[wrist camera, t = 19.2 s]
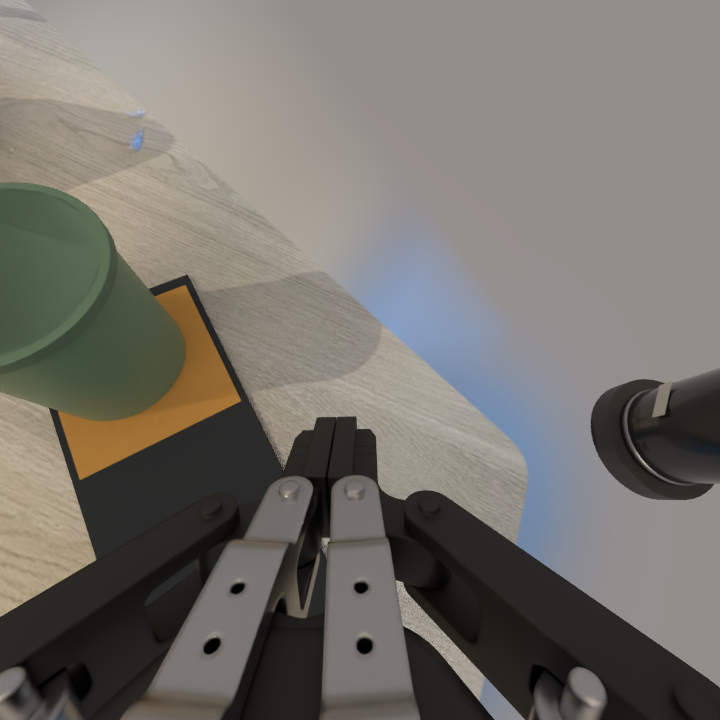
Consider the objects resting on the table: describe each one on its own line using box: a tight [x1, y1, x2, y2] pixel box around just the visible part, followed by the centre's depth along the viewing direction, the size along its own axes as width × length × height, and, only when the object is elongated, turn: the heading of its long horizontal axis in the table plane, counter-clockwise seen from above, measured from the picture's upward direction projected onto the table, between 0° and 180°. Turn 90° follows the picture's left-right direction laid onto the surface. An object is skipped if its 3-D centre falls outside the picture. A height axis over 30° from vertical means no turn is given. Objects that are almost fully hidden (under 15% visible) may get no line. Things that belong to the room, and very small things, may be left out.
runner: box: [49, 275, 327, 617], centre depth 27 cm, size 40×14×1 cm, turn 30°
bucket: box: [0, 182, 185, 421], centre depth 24 cm, size 12×12×13 cm
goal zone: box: [57, 285, 241, 480], centre depth 30 cm, size 13×13×1 cm
